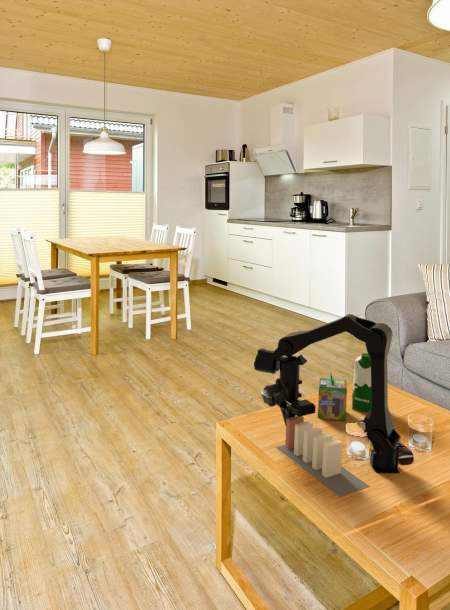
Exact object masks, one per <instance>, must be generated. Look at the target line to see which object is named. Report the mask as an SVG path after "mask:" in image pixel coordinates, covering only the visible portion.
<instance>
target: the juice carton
mask: <svg viewBox="0 0 450 610" xmlns="http://www.w3.org/2000/svg"><path fill="white" fill-rule="evenodd" d="M329 376H330V377H329V378H324V377H320V378H319V383H318V384H319V385H318V403H317V419H323V420H328V421H329V420H330V421H331V420H333V421H341V422H346V418H347V396H348V395H347V394H348V386H347V380H346V379H340V378H339V379H338V378H334V377H333V376H332V371H329Z"/></svg>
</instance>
